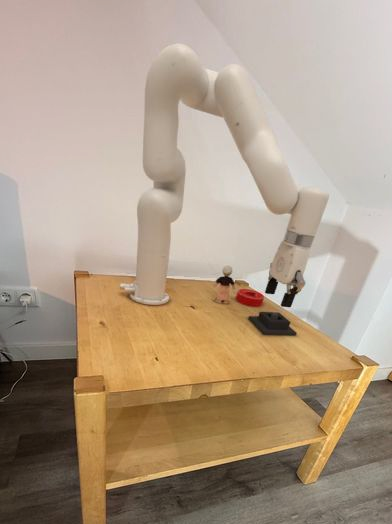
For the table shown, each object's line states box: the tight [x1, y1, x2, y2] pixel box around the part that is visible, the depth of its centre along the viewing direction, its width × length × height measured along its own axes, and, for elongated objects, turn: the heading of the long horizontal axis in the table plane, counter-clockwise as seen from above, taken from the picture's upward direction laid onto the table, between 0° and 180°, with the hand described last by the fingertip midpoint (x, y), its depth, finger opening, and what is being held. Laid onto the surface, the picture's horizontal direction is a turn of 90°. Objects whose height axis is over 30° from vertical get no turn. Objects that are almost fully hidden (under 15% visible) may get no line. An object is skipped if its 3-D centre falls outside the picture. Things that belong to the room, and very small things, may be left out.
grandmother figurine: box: [212, 265, 236, 305], centre depth 101 cm, size 8×4×13 cm, turn 111°
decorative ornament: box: [235, 288, 265, 307], centre depth 109 cm, size 10×10×3 cm
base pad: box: [247, 311, 297, 336], centre depth 91 cm, size 11×11×4 cm
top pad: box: [258, 311, 292, 329], centre depth 91 cm, size 7×7×2 cm
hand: (277, 299), depth 88 cm, fingers open, 9 cm apart
